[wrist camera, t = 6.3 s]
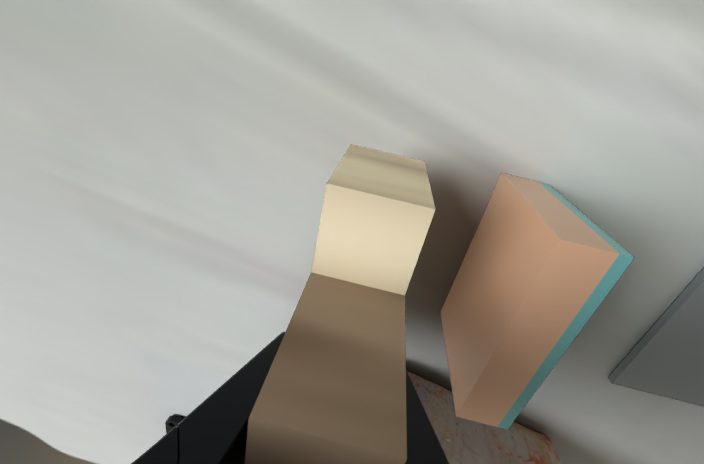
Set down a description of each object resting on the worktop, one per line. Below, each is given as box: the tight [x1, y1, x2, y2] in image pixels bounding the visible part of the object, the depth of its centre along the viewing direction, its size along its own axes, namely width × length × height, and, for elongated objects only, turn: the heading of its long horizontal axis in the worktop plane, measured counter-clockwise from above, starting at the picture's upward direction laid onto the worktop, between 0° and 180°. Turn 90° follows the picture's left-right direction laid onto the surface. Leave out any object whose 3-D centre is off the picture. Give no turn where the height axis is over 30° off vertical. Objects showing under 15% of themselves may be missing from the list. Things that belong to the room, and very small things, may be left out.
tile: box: [440, 173, 634, 430], centre depth 13 cm, size 8×2×6 cm, turn 169°
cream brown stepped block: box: [245, 144, 435, 464], centre depth 10 cm, size 9×2×8 cm, turn 169°
